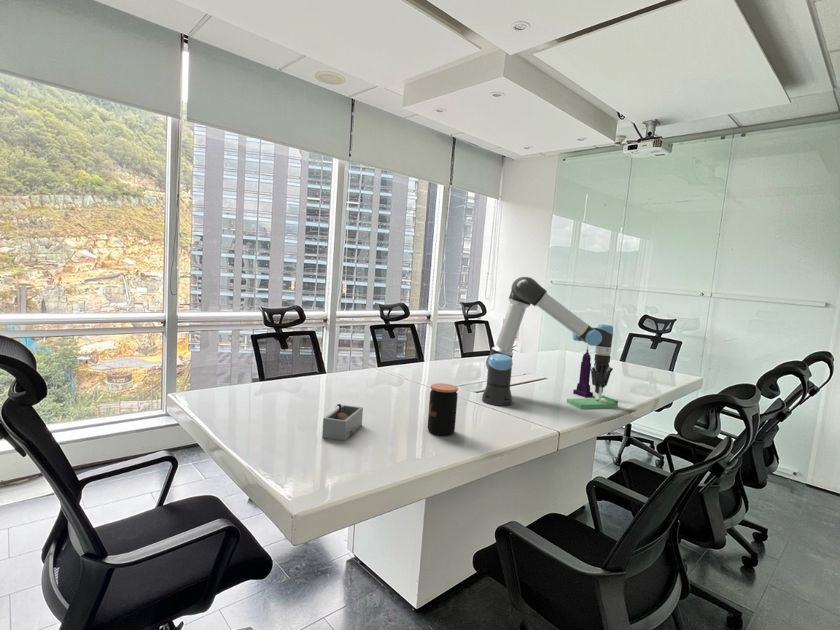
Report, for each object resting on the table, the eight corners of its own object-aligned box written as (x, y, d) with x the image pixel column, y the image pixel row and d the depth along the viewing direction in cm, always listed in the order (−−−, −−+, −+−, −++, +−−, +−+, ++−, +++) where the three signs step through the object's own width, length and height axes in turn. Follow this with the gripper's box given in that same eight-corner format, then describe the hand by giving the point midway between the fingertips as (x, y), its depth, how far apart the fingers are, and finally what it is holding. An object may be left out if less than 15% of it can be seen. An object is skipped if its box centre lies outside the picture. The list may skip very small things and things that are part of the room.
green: (580, 408, 224) (581, 401, 224) (566, 402, 235) (567, 396, 235) (617, 407, 232) (618, 401, 232) (602, 401, 242) (603, 395, 242)
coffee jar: (427, 426, 181) (430, 382, 179) (453, 428, 180) (457, 384, 179) (427, 435, 170) (430, 388, 169) (455, 437, 170) (458, 391, 168)
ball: (600, 405, 234) (600, 399, 234) (598, 403, 238) (599, 397, 237) (607, 406, 233) (607, 399, 233) (605, 404, 237) (606, 397, 237)
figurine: (329, 423, 174) (330, 401, 173) (340, 422, 176) (341, 400, 175) (341, 435, 162) (343, 412, 161) (353, 434, 164) (355, 411, 163)
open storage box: (322, 437, 160) (323, 418, 160) (341, 422, 178) (342, 404, 178) (344, 440, 158) (346, 421, 158) (361, 424, 177) (362, 407, 176)
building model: (572, 393, 257) (578, 341, 254) (580, 392, 260) (585, 341, 257) (585, 397, 249) (590, 344, 247) (592, 396, 252) (598, 343, 250)
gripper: (597, 355, 227) (592, 401, 229) (618, 355, 231) (613, 400, 233) (587, 352, 234) (582, 397, 236) (607, 353, 238) (603, 396, 240)
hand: (598, 398), depth 234 cm, fingers closed
